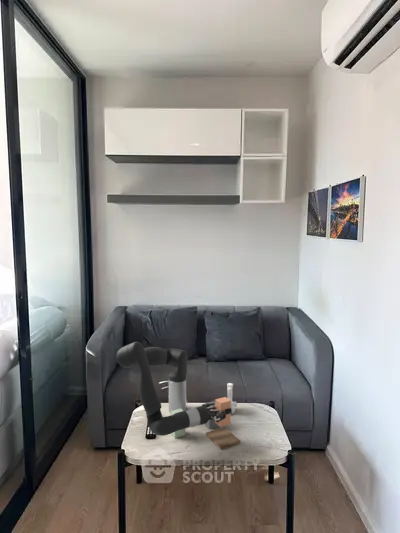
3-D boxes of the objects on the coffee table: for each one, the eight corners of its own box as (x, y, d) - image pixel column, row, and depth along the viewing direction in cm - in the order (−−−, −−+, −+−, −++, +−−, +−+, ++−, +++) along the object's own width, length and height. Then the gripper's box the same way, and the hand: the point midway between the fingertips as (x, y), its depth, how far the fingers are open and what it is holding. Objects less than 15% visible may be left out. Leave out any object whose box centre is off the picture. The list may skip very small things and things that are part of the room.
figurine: (236, 407, 203) (236, 380, 201) (236, 415, 193) (236, 387, 192) (223, 406, 204) (223, 379, 202) (222, 414, 194) (222, 387, 193)
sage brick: (170, 433, 176) (170, 411, 175) (181, 430, 179) (181, 408, 178) (174, 438, 172) (174, 415, 171) (185, 435, 175) (185, 412, 174)
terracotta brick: (215, 422, 171) (215, 399, 170) (225, 419, 174) (225, 396, 173) (220, 427, 167) (220, 403, 166) (230, 424, 170) (230, 400, 169)
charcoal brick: (204, 424, 184) (204, 403, 183) (214, 422, 187) (214, 400, 186) (209, 429, 180) (209, 407, 179) (219, 426, 183) (219, 404, 182)
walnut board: (206, 435, 175) (206, 432, 174) (224, 429, 180) (224, 427, 179) (221, 449, 163) (221, 446, 163) (240, 443, 168) (240, 440, 168)
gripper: (203, 415, 156) (237, 406, 165) (187, 402, 169) (219, 394, 177) (203, 432, 157) (236, 422, 165) (187, 418, 169) (219, 409, 178)
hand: (227, 408), depth 171 cm, fingers closed on terracotta brick, 4 cm apart
